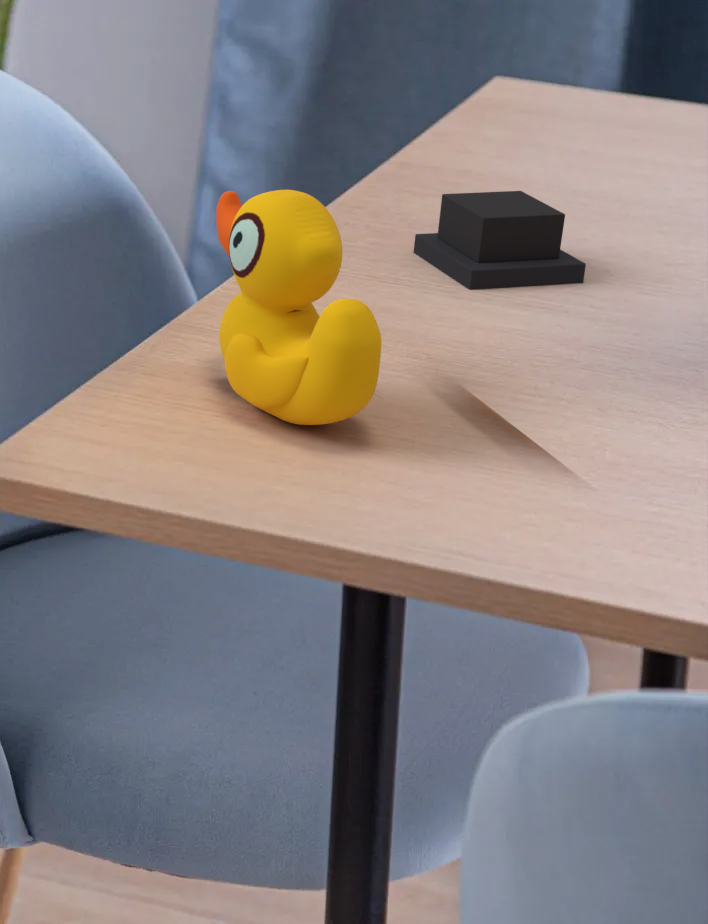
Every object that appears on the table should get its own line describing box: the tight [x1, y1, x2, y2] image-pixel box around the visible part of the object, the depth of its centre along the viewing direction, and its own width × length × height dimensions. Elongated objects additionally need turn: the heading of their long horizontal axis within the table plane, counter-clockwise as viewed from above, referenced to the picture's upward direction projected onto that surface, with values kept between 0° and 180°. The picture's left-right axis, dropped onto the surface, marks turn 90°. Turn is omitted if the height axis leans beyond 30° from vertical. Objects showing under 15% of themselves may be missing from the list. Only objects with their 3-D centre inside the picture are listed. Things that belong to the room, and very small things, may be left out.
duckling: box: [215, 189, 382, 426], centre depth 79 cm, size 11×5×10 cm, turn 32°
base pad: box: [413, 232, 587, 291], centre depth 99 cm, size 7×7×2 cm
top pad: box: [437, 190, 566, 263], centre depth 98 cm, size 5×5×2 cm
